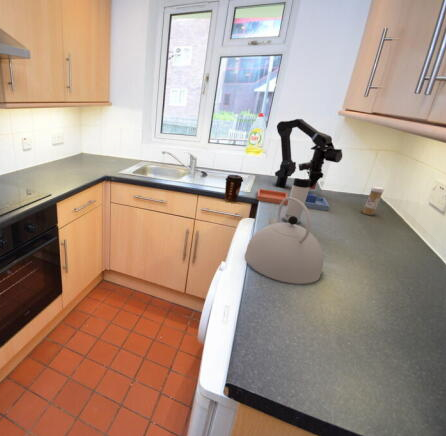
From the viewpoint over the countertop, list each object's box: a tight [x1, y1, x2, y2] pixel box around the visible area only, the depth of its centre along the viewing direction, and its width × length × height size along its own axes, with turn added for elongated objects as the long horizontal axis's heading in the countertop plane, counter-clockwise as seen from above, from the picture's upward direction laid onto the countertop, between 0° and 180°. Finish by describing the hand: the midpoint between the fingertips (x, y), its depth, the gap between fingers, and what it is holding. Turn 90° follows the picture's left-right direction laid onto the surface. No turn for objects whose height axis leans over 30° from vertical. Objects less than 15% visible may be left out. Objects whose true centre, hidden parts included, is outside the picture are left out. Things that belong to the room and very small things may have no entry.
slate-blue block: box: [305, 192, 318, 203], centre depth 155 cm, size 4×4×4 cm
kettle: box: [244, 196, 325, 285], centre depth 96 cm, size 25×23×22 cm
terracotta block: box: [307, 178, 318, 190], centre depth 169 cm, size 4×4×4 cm
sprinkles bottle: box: [362, 185, 385, 216], centre depth 142 cm, size 5×5×14 cm
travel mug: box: [283, 177, 311, 225], centre depth 130 cm, size 6×7×20 cm
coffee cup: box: [224, 174, 244, 203], centre depth 156 cm, size 9×8×13 cm
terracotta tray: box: [256, 188, 289, 206], centre depth 162 cm, size 15×15×2 cm
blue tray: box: [304, 196, 330, 211], centre depth 156 cm, size 15×15×2 cm
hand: (310, 186), depth 170 cm, fingers closed on terracotta block, 4 cm apart
